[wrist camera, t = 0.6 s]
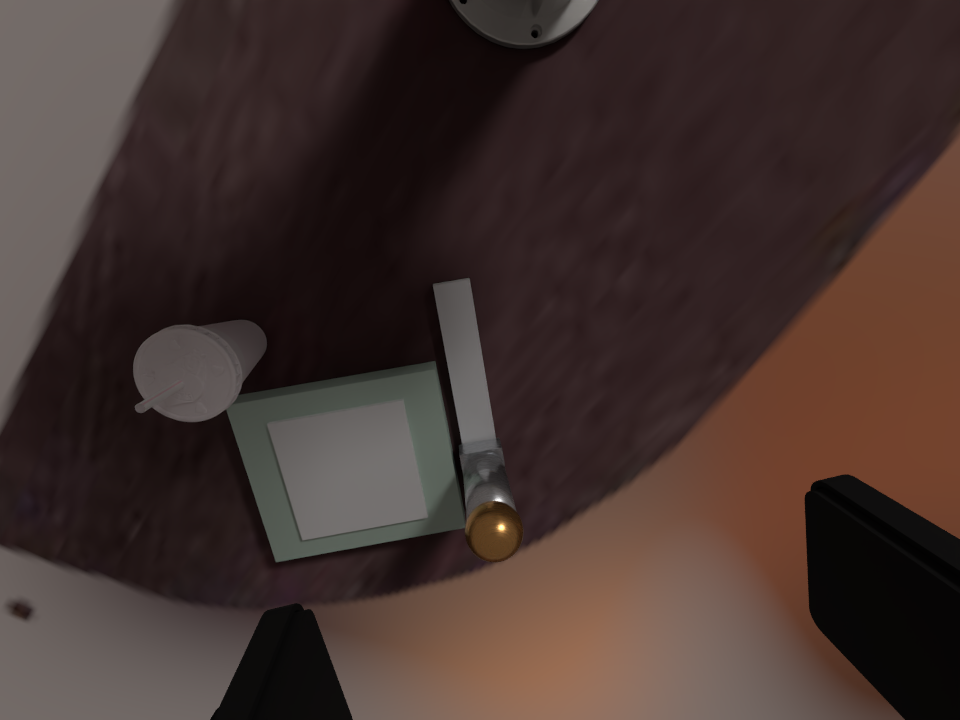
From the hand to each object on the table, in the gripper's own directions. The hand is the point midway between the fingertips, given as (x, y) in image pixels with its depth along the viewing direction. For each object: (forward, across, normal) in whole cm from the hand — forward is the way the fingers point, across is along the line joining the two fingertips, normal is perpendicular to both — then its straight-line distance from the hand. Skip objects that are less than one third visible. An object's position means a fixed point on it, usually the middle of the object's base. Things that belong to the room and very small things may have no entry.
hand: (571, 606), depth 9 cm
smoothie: (+34, +19, -2) cm, 39 cm away
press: (+34, +10, +7) cm, 36 cm away
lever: (+32, +2, +13) cm, 35 cm away
